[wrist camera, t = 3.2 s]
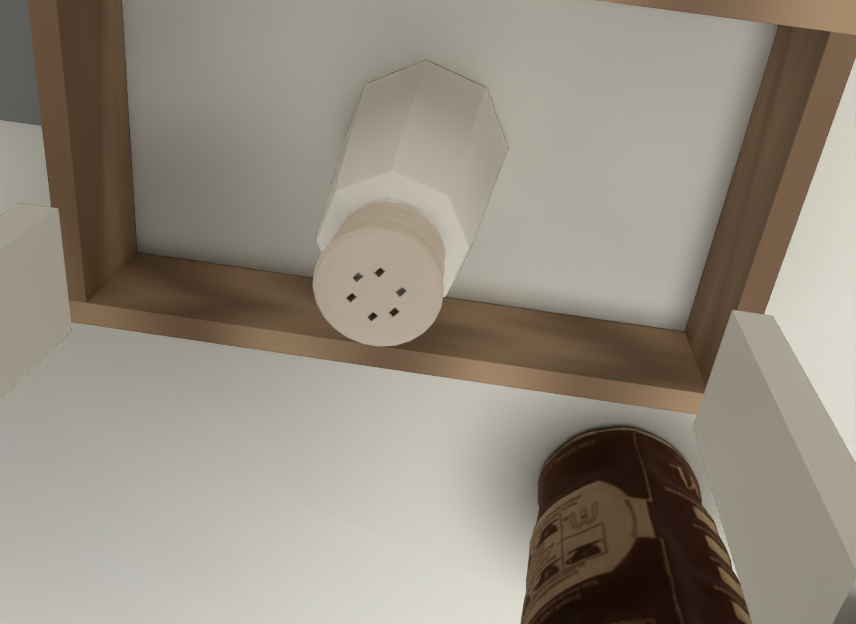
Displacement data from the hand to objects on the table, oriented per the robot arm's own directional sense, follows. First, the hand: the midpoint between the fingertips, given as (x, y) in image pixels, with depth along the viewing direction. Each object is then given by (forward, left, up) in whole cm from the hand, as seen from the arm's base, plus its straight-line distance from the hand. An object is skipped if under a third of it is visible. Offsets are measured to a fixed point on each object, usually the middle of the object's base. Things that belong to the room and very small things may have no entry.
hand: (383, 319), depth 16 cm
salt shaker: (0, 0, -12) cm, 12 cm away
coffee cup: (+9, -13, -12) cm, 20 cm away
